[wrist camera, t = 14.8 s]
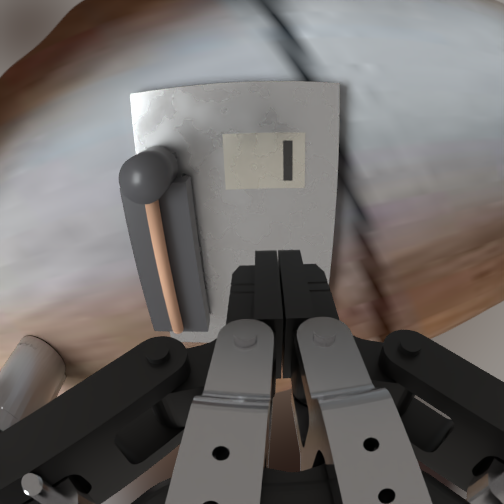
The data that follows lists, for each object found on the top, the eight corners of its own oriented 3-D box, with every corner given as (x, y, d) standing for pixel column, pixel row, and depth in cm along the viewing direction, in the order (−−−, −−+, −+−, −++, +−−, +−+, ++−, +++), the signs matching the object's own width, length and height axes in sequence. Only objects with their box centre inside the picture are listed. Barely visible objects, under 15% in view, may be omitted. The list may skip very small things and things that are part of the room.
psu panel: (320, 334, 38) (321, 340, 37) (173, 336, 38) (172, 342, 37) (336, 83, 24) (339, 83, 23) (134, 93, 25) (129, 94, 24)
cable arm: (123, 150, 26) (104, 160, 23) (186, 142, 26) (175, 151, 22) (158, 319, 35) (150, 343, 32) (210, 319, 35) (205, 344, 31)
